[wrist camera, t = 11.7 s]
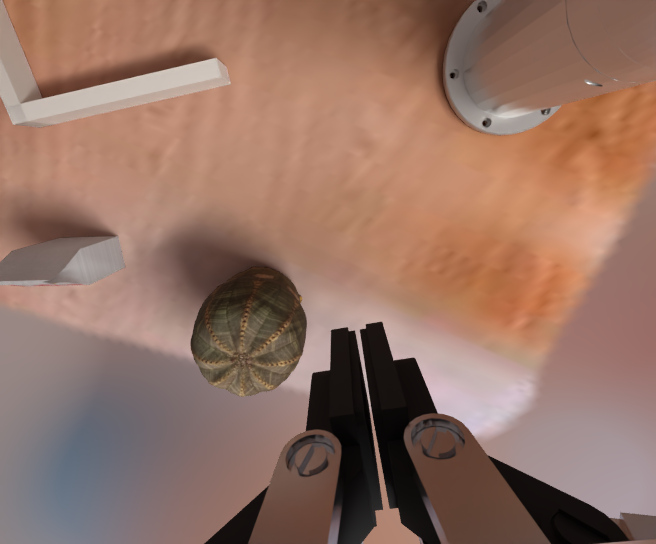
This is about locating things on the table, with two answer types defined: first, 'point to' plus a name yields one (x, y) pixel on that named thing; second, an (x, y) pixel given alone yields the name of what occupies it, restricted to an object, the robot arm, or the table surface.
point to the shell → (250, 332)
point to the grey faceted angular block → (63, 262)
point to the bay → (32, 110)
